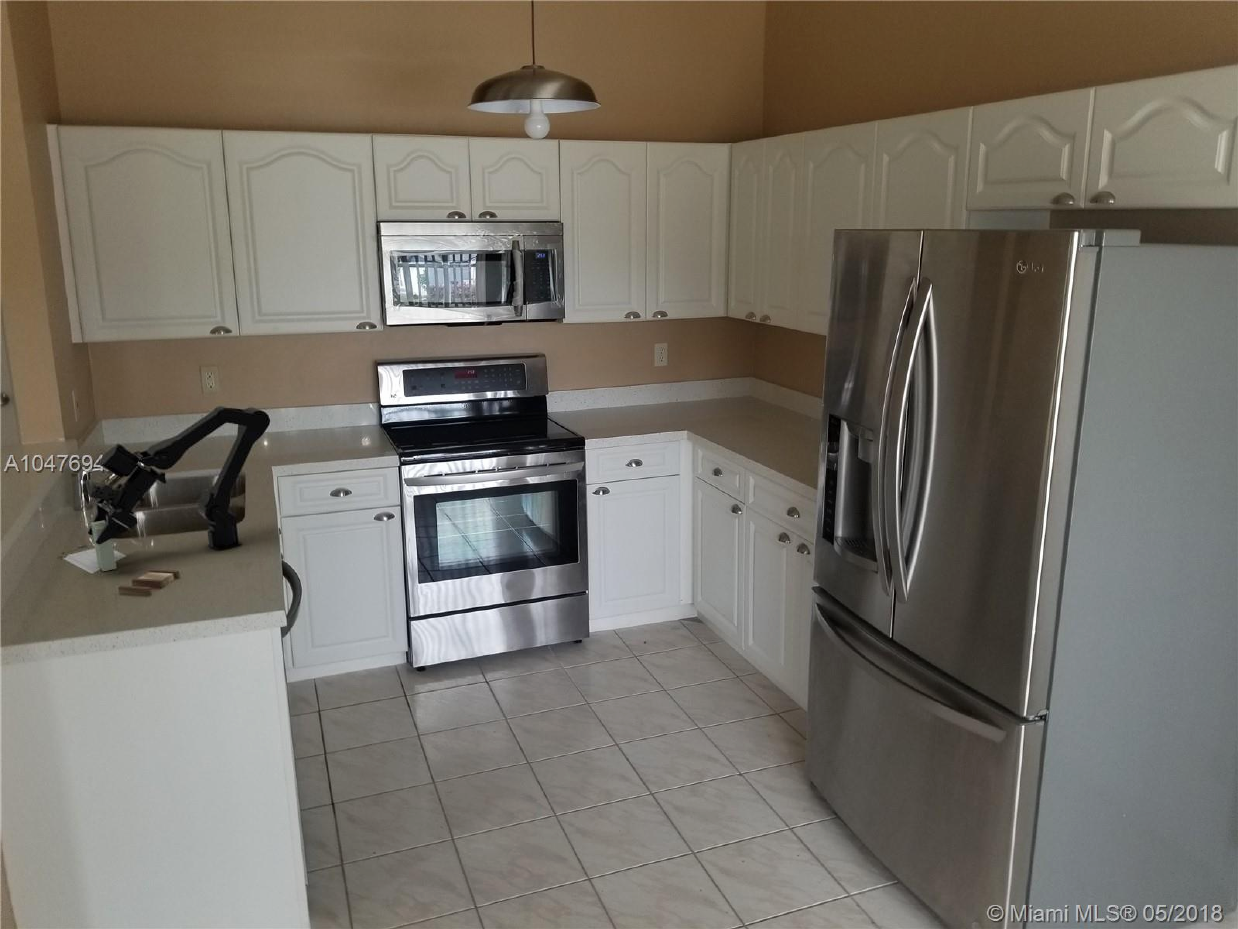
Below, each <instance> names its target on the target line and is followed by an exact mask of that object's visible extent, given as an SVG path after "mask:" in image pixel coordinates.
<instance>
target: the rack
mask: <svg viewBox="0 0 1238 929" xmlns="http://www.w3.org/2000/svg"><path fill="white" fill-rule="evenodd" d="M149 572H153V573H172V574H173V576H174V580H173V581H171V582H169V583H168V584H166V585H164V582H163V580H156V579H138V578H132V579H131V585H132V586H131V585H120V586H118V588H117V590H118V594H119V595H121V596H137V597H151V596H152V595H154V594H156V593H157V592H159V591H160V590H162V589H163V588H165V587H168V586H169V585H170V584H172V583H174V582H176V581H177V580H179V579H181V575H180V570H177V569H176V570H175V569H173V570H172V569H159V568H157V569H155V568H154V569H153V568H151V569H149V570H148V572H147V573H149Z"/></svg>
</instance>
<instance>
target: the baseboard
mask: <svg viewBox="0 0 1238 929" xmlns="http://www.w3.org/2000/svg"><path fill="white" fill-rule="evenodd" d="M89 547H91V545H90V546H88V545H85V544H84V545H82V546H79V547H78V548H77V549H76V550H81V549H83V548H85V549H86V548H89ZM92 547H94V548H92V549H91V548H89V549H87V550H82V551H80V552H75V553H71V551H70V550H69V551H68V553H69V554H67V556H66V557H63V556H62V555H63V554H65V552H62V555H60V556H59V557H57V559H59V558H60V560H62V559H63V560H64V561H66V562H68V563H71V564H72V565H74V566H76V567H78V568H80V569H82V570H84V571H86V572H87V573H89V574H94V573H97V572H98V571H100V570H102V569H101V568H100V566H99V565H98V562H97V556H96V550H95V544H94V545H92ZM113 550H114V556H115V562H117V561H119V560H121V559H123V558H125V557H127V555H125V554H124V553H122V552H120V551H118V550H115V549H113ZM73 551H75V550H72V552H73ZM70 553H71V554H70ZM62 557H63V558H62Z"/></svg>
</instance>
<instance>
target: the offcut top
mask: <svg viewBox="0 0 1238 929" xmlns="http://www.w3.org/2000/svg"><path fill="white" fill-rule="evenodd" d="M172 577H174V576H173V574H172V573H153V572H147V573H146V574H144V575H141V576H139V577H138V578H137V579H156V580H163V582H165V581H167V580H169V579H170V578H172Z"/></svg>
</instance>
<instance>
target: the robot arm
mask: <svg viewBox="0 0 1238 929" xmlns="http://www.w3.org/2000/svg"><path fill="white" fill-rule="evenodd" d="M225 424H233V425H237V433H236V435H237V436H236V438H235V440H234V443H233V445H232V447H231V449H230V451H229V453H228V455H227V457H226V460H225V462H224V463H223V464H224V465H223V466H222V468H221V471H220V472H219V474H218V477H217V478H216V480H215V482H214V484H213V486H211V488H210V489H209V490H208V489H206V488H205V487H204V488H203V489H202V492H201V495H200V497H199V499H197V501H196V502H197V503H198V505H197V510H198V513H199V514H200V515H201V516H202V517H203V518H204V519H206V520H207V521H208V522H209V523H210V524H208V531H207V538H208V543H207V544H208V547H210V548H212V549H215V550H217V551H223V550H226V549H229V548H234V547H236V546H242V545H243V543H242V541H239V534H238V533H239V532H238V526H237V523H238V517H237V516H236V515H234V514H233V513H232V512H231V511H229V510H230V506H231V500H232V499H231V498H232V496H231V495H232V490H233V489H234V487H235V484H236V482H237V481H238V480H237V479H238V478H239V476H240V475H241V471H242V469H243V467H244V465H245V463H246V461H247V459H248V456H249V454H250V452H251V450H252V448H253V446H254V444H255V443H256V442H257V441H258V440H259V439H260V438H262V436H263V435H264V434H265V432H266V431H267V429H268V428H269V427H270V424H271V419H270V416H269V414H268V413H267V412H265V411H264V410H262V409H259V408H257V407H253V406H251V407H247V408H244V409H242V408H241V409H240V408H234V407H226V406H222V405H219V406H216V407H215V408H214V409H213V410H212V411H210V412H208V413H207V414H206V415H205V416H203V417H202V418H200V419H199V420H198V421H196V422H194V423H193V424H192V425H190V426H188V427H187V428H186V429H184V430H183V431H181V432H180V433H178V434H177V435H174V436H172V437H169V438H167V439H163V440H161V441H159V442H156V443H155V444H154V443H153V444H152V445H150V446H149V447H148V448H147V450H144V451H139V452H135V453H132V452H131V451H130V450H128V449H126V447H124V445H121V443H116V444H115V445H114V446H113V447H111V448H110V449H108V450H107V451H105V453H104V454H103V455H102V456H101V458H100V460H99V462H98V465H99V466H100V467H102V468H103V469H105V471H108V472H110V473H112V474H113V475H115V476H116V477H118V478H123V477H126V479H125V481H124V482H123V483H121V482H120V483H117V484H116V486H112V485H110V484H105V483H99V482H95V481H91V482H90V486H89V488H88V492H87V495H88V496H89V497H90V498H93V499H94V501H95V503H94V506H95V510H96V513H95V516H94V517H93V520H92V522H91V523H93V522H99V521H105V522H106V525H105V527H104V528H103V530H102V532H101V533H100V535H99V537H98V538H97V540H96V543H97V544H99V545H100V544H102V543H104V542H106V541H108V540H109V539H111V538H112V539H113V538H115V537H117V536H119V535H121V534H123V533H125V532H127V531H128V532H130V530H134V529H135V527H136V526H137V525H138V518H137V517H136V516H135V515H134V514H135V512H134V511H133V510H135V508H136V507H137V506H138V505H139V503H140V502H141V503H143V502H144V501H145V500H146V499H145V498H144V497H145V496H146V494H147V493H148V492H149V491H150V490H151V489H152V487H153V486H154V485H155V483H157V481H159V482H160V483H161V484H164V485H165V484H167V480H166V479H167V478H166V473H165V472H164V471H166V470H169V469H171V468H173V466H175V465H176V464H177V463H178V462H179V461H180V460H181V459H182V458H183V456H184V454H185V453H186V452H187V451H189V449H191V448H192V447H193V446H194V445H196V444H198V443H199V442H200V441H201V440H203V439H205V438H206V437H208V436H209V435H211V434H212V433H213V432H215V431H216V430H218V429H220V428H221V427H222V426H224V425H225ZM139 463H140V464H142V465H143V466H146V467H143V466H142V465H140V464H139ZM152 467H154V468H155V469H154V468H152ZM156 469H158V470H163V471H157V470H156ZM87 534H88V535H90V536H93V533H92V527H91V526H89V529H88V531H87Z"/></svg>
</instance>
